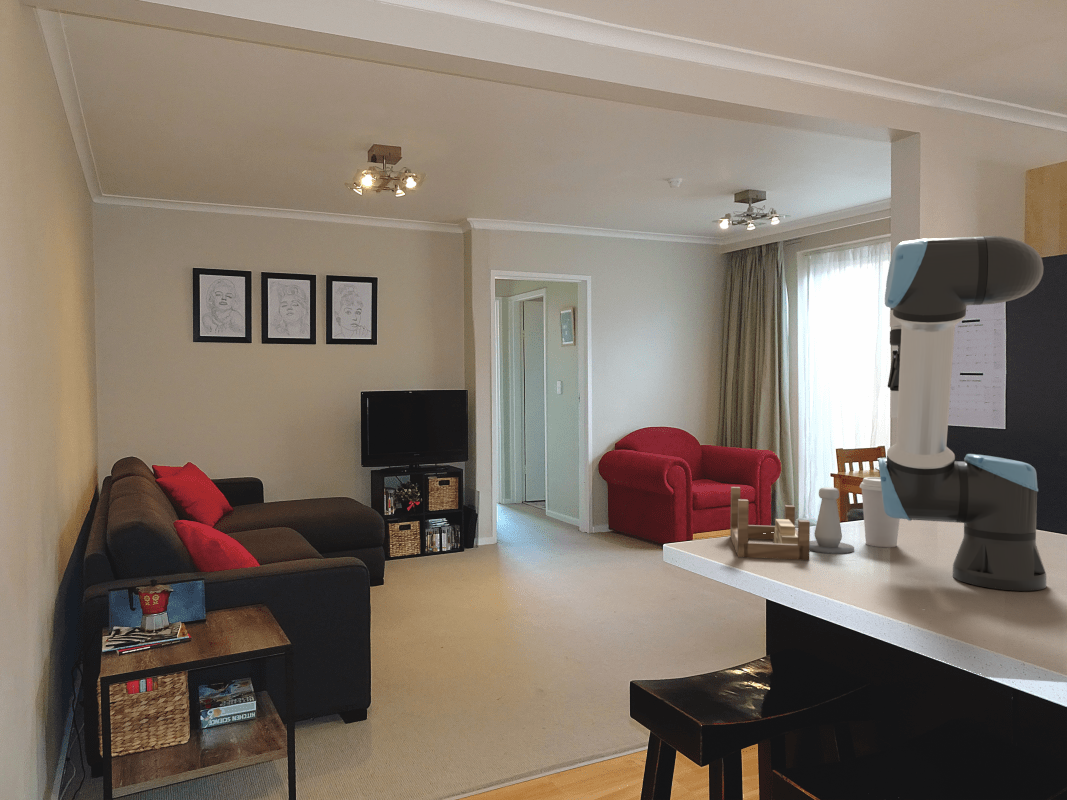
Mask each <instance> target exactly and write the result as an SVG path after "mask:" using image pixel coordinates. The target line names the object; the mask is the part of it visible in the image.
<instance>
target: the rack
mask: <svg viewBox="0 0 1067 800" xmlns="http://www.w3.org/2000/svg"><path fill="white" fill-rule="evenodd" d="M795 513H796V507H795V505H791V504H789V505H787V504H785V505H784V519H789V520H790V521H791V522H792V524H793V525H794V526H795V525H796V524H795V522H796V521H795V520H796V518H795V517H796V514H795ZM810 523H811V522H810V521H809V520H806V519H798V520H797V529H796V528H795V534H796V535H797V536H798V544H780V543H774V542H755V541H754V542H753V541H752V542H751V541H749V539H750V540H751V539H755V540H774V533H775V525H759V524H756V525H755V524H749V500H748V499H745V498H743V499H742V498H741V486H730V533H729V534H730V536H729V537H730V539H731V543H732V545H733V547H734V549H735V552H736V555H737V558H749V559H754V558H755V559H756V558H757V559H773V560H775V559H776V560H797V561H798V560H799V561H800V560H801V561H810V551H809V541H811V539H810V537H811V536H810V535H811V534H810V532H811V529H810V526H811V524H810ZM795 527H796V526H795ZM771 532H774V533H771ZM763 533H766V534H763Z"/></svg>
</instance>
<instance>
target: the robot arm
mask: <svg viewBox="0 0 1067 800" xmlns="http://www.w3.org/2000/svg"><path fill="white" fill-rule="evenodd" d="M1043 275H1044V264H1043V259H1042V256H1041V255H1040V254H1039V252H1038V251H1037V250H1036V249H1035V248H1034V247H1032V246H1031V245H1029V244H1028V243H1026V242H1024V241H1022V240H1019V239H1016V238H1012V237H1006V236H1001V235H1000V236H997V235H982V236H967V237H965V236H964V237H963V236H961V237H939V238H938V237H937V238H920V239H913V240H904V241H901V242H900V243H898V244H896V246H895V247H894V249H893V251H892V254H891V258H890V262H889V266H888V272H887V277H886V284H885V292H884V293H885V294H884V305H885V306H886V307H887V308H890V310H889V328H892V329H890V331H889V344H890V346H895V347H896V346H897V349H893V350H892V355H891V356H892V358H891V363H890V364H891V365H890V370H889V375H888V382H887V388H888V389H889V390H890V415H889V417H890V418H891V419H896V420H897V421H896V437H895V438H896V440H895V443H894V444H893V445H891V446H890V447H888V449H887V452H886V457H882V458H879V460H878V468H879V469H878V470H879V477H880V479H881V488H882V497H883V505H884V511H885V513H886V514H887V515H888V516H889V517H892V518H898V519H901V520H907V521H908V522H911V521H923V522H924V521H925V522H942V523H945V522H946V523H959V524H963V538H962V541H961V542H960V546H959V547H958V550H957V553H956V555H955V559H954V561H953V563H952V577H953V578H954V579H956V580H957V581H960V582H963V583H967V584H969V585H973V586H978V587H982V588H988V589H995V590H1004V591H1015V592H1016V591H1018V592H1019V591H1020V592H1021V591H1022V592H1028V591H1029V592H1031V591H1039V590H1043V589H1045V588H1046V587H1047V572H1046V570H1045V566H1044V563H1043V561H1042V558H1041V555H1040V553H1039V549H1038V546H1037V541H1036V540H1037V508H1038V507H1037V505H1038V503H1037V501H1038V492H1039V488H1038V478H1037V477H1038V476H1037V475H1038V474H1037V470H1036V468H1035V467H1034V466H1032V465H1031V464H1030V463H1027V462H1024V461H1019V460H1014V459H1009V458H1004V457H999V456H991V455H984V454H975V453H966V455H965V457H964V459H963V460H964V461H957V460H956V455H955V453H954V452H953V450H952V449H950V448H949V447H948V446H947V441H948V432H949V431H948V428H949V414H950V403H951V402H950V401H951V400H950V398H951V385H952V371H953V358H954V347H955V346H954V343H955V342H954V341H955V331H956V325H958V323H960V322H961V321H962V320H964V319H965V318H966V314H967V313H966V312H967V306H981V305H993V304H1000V303H1001V304H1002V303H1005V302H1009V301H1013V300H1016V299H1019V298H1021V297H1025V296H1027V295H1028V294H1029V293H1031V292H1032V291H1034V290H1035V289H1036V288H1037V286H1038V285H1039V284H1040V282H1041V280H1042V278H1043Z"/></svg>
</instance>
